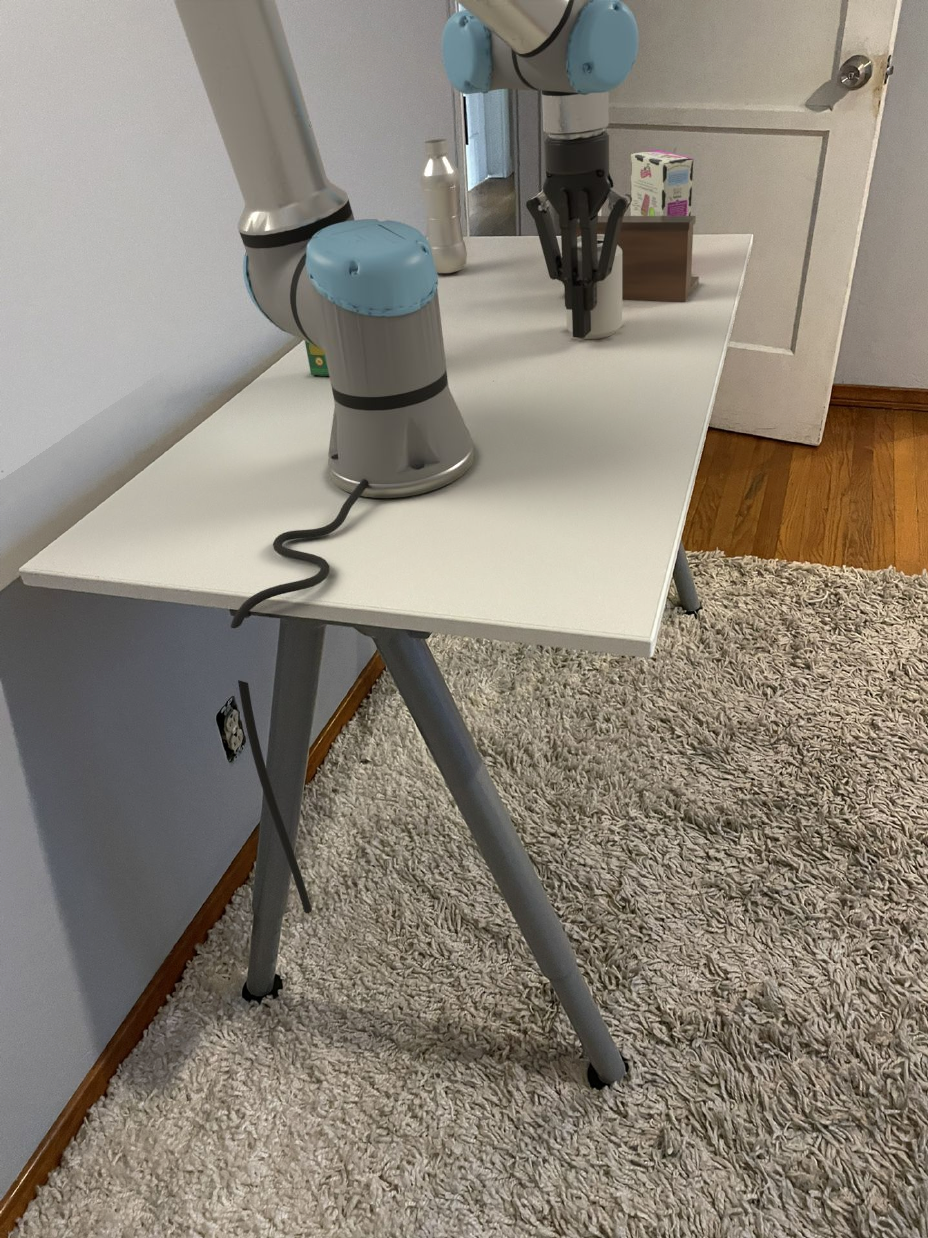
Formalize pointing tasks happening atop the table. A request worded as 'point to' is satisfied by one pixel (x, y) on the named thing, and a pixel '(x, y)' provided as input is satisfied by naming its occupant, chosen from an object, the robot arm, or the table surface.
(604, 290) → the can
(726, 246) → the table surface
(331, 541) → the table surface
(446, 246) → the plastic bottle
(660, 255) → the wooden box
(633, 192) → the candy bar box
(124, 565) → the table surface
